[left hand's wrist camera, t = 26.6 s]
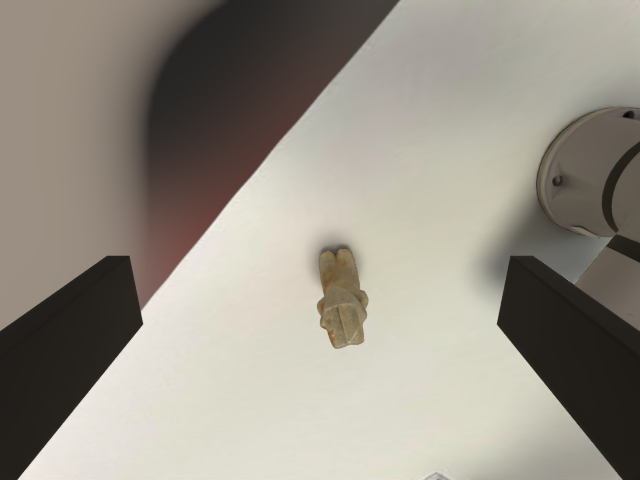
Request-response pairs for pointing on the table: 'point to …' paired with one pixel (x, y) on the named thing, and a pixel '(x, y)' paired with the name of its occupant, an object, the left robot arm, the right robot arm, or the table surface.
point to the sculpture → (341, 299)
